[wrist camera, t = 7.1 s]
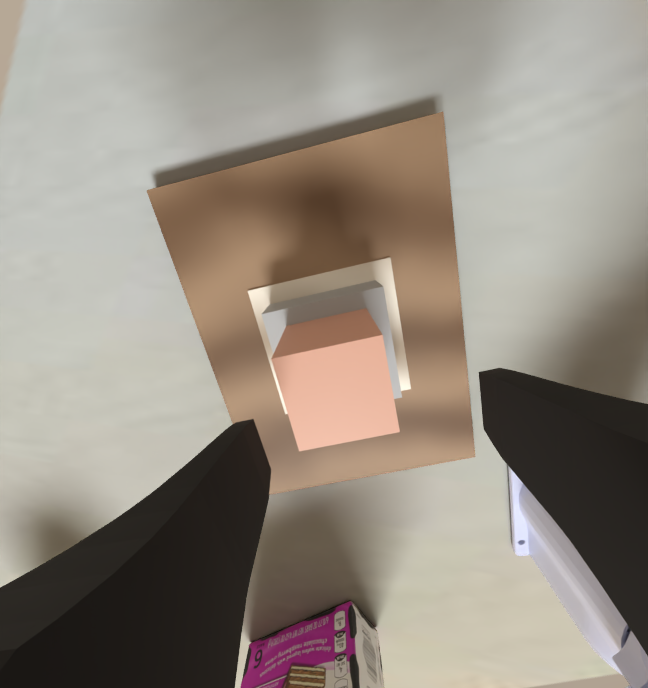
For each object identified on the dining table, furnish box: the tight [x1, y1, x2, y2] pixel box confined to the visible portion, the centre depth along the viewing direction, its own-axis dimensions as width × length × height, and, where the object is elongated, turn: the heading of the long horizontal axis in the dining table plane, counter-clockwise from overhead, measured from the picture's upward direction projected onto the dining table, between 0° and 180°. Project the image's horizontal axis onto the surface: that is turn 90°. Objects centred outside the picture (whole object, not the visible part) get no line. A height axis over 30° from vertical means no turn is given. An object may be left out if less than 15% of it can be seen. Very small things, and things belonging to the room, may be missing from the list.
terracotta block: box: [271, 308, 400, 451], centre depth 14 cm, size 4×4×4 cm
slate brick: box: [261, 280, 402, 399], centre depth 17 cm, size 6×6×2 cm
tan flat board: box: [147, 112, 475, 495], centre depth 19 cm, size 20×15×1 cm
